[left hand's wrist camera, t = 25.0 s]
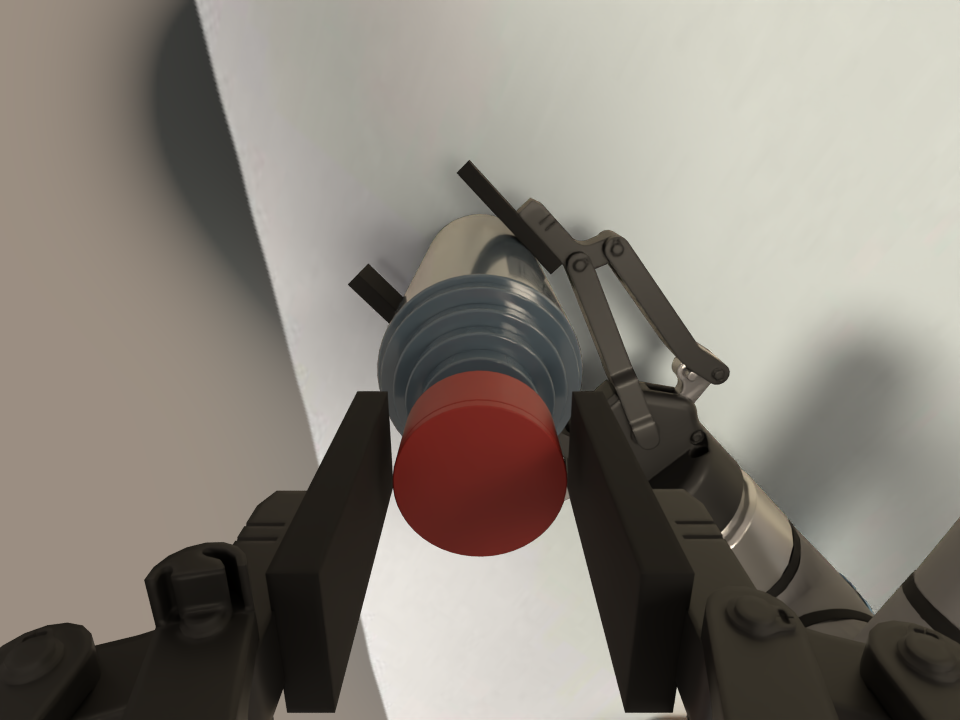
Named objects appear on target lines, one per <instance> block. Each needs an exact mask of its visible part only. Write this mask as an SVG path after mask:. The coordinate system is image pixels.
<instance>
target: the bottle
mask: <svg viewBox="0 0 960 720" xmlns="http://www.w3.org/2000/svg"><path fill="white" fill-rule="evenodd" d="M468 371H491V372H498V373H501V374H505V375H508V376H511V377H513V378H515V379H518V380H519V381H521V382H523V383H524V384H526V385H527V386H529V387H530V388H531V389H533V390H534V391H535V392H536V393H537V394H538V395H539V396H540V397H541V399H542V400H543V401H544V403H545V404H546V406H547V407H548V409H549V411H550V413H551V416H552V418H553V421H554V424H555V428H556V432H557V436H558V435H559V434H560V433H561V431H562V430H563V429H564V427H565V426H566V424H567V422H568V421H569V419H570V417H571V404H572V391H580V389H581V383H582V375H583V368H582V356H581V350H580V346H579V343H578V340H577V337H576V335H575V332H574V330H573V328H572V326H571V324H570V322H569V320H568V318H567V316H566V314H565V312H564V311H563V309H562V307H561V305H560V303H559V301H558V299H557V297H556V295H555V293H554V291H553V289H552V287H551V285H550V283H549V282H548V280H547V278H546V276H545V274H544V272H543V270H542V268H541V266H540V264H539V262H538V260H537V259H536V258H535V257H534V256H533V255H532V254H531V252H530V251H529V250H528V249H527V248H526V247H525V246H524V245H523V244H522V243H521V242H520V241H519V240H518V238H517V237H516V236H515V235H514V234H513V233H512V232H511V231H510V230H509V229H508V228H507V227H506V226H505V224H504V223H503V222H502V221H501V220H500V219H499V218H498V217H496V216H492V215H487V214H474V215H468V216H464V217H461V218H458V219H456V220H454V221H453V222H451V223H449V224H448V225H447V226H445V227H444V228H443V229H442V230H441V231H440V232H439V233H438V234H437V236H436V237H435V238H434V240H433V241H432V243H431V245H430V247H429V249H428V251H427V253H426V255H425V257H424V258H423V260H422V262H421V264H420V266H419V268H418V270H417V272H416V274H415V276H414V278H413V280H412V282H411V283H410V285H409V287H408V289H407V291H406V293H405V295H404V297H403V299H402V301H401V303H400V305H399V307H398V309H397V310H396V312H395V314H394V316H393V318H392V320H391V322H390V324H389V326H388V328H387V330H386V332H385V335H384V337H383V339H382V343H381V346H380V350H379V356H378V363H377V372H378V383H379V389H380V391H388V404H389V417H390V419H391V421H392V422H393V424H394V426H395V427H396V429H397V430H398V432H399V433H400V434H401V435H402V436H403V432H404V428H405V425H406V421H407V418H408V415H409V413H410V411H411V409H412V407H413V406H414V404H415V403H416V401H417V400H418V399H419V397H420V396H421V395H422V394H423V393H424V392H425V391H426V390H427V389H429V388H430V387H431V386H433V385H434V384H436V383H437V382H439V381H441V380H443V379H445V378H447V377H449V376H452V375H455V374H458V373H463V372H468Z"/></svg>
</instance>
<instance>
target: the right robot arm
mask: <svg viewBox="0 0 960 720" xmlns="http://www.w3.org/2000/svg"><path fill="white" fill-rule="evenodd" d="M457 174H458V175H459V176H460V177H461V178H462V179H463V180H464V181H465V182H466V184H467V185H468V186H469V187H470V188H471V189H472V190H473V191H474V192H475V193H476V194H477V195H478V196H479V198H480V199H481V200H482V201H483V202H484V203H485V204H486V205H487V206H488V207H489V208H490V209H491V210H492V212H493V213H494V214H495V215H496V216H497V217H498V218H499V219H500V220H501V221H502V222H503V223H504V224H505V226H506V227H507V228H508V229H509V230H510V231H511V232H512V233H513V234H514V235H515V236H516V237H517V238H518V240H519V241H520V242H521V243H522V244H523V245H524V246H525V247H526V248H527V249H528V250H529V251H530V252H531V254H532V255H533V256H534V257H535V258H536V259H537V260H538V261H539V262H540V263H541V264H542V265H543V266H544V268H545V269H546V270H547V271H548V272H549V273H550V274H552V273H553V272H554V271H555V270H556V269H557V268H558V267H559V266H561V265H562V264H563V266H564V268H565V271H566V273H567V276H568V278H569V281H570V283H571V286H572V288H573V291H574V293H575V296H576V298H577V301H578V303H579V306H580V308H581V311H582V313H583V316H584V319H585V321H586V324H587V326H588V329H589V331H590V334H591V336H592V339H593V341H594V344H595V346H596V349H597V351H598V354H599V356H600V359H601V361H602V365H603V367H604V370H605V373H606V375H607V378H608V380H609V381H608V380H606V381H605V382H603V383H602V384H601V385H600V386H599V387H597V388H596V390H595V391H603V393H604V395H605V397H606V399H607V401H608V403H609V405H610V407H611V409H612V411H613V413H614V415H615V417H616V419H617V421H618V423H619V425H620V427H621V429H622V431H623V433H624V435H625V437H626V439H627V441H628V443H629V445H630V446H631V448H632V450H633V452H634V454H635V456H636V458H637V460H638V462H639V464H640V466H641V468H642V470H643V472H644V474H645V476H646V478H647V480H648V482H649V484H650V486H651V488H652V489H684V490H685V491H687V492H688V493H689V494H691V495H692V496H693V497H695V498H696V499H697V500H699V501H700V502H701V503H703V505H704V506H705V508H706V509H707V511H708V513H709V514H710V516H711V517H712V519H713V520H714V524H716V525H717V527H718V528H719V530H720V532H721V533H722V535H723V539H725V540H726V541H727V543H728V544H729V546H730V547H731V549H732V551H733V552H734V554H735V555H736V557H737V559H738V560H739V562H740V563H741V565H742V567H743V568H744V570H745V571H746V573H747V574H748V576H749V578H750V579H751V581H752V582H753V584H754V586H755V587H756V589H757V590H761V591H764V592H766V593H768V594H770V595H772V596H774V597H776V598H777V599H779V600H781V601H782V602H784V603H785V604H786V605H787V606H788V607H789V608H791V609H792V610H793V611H794V612H795V613H796V614H797V616H798V617H799V619H800V621H801V622H802V624H803V625H804V627H805V628H808V629H811V630H814V631H818V632H821V633H824V634H829V635H833V636H837V637H841V638H845V639H850V640H854V641H858V642H862V643H866V641H867V638H868V634H869V631H870V630H871V629H872V628H873V627H874V626H875V625H877V624H878V623H881V622H887V621H892V620H895V621H903V622H910V623H915V624H918V625H921V626H924V627H927V628H929V629H932V630H935V631H937V632H939V633H941V634H943V635H945V636H946V637H948V638H950V639H952V640H954V641H955V642H957V643H959V644H960V518H959V519H958V520H957V521H956V523H955V524H954V525H953V526H952V527H951V529H950V530H949V531H948V532H947V533H946V535H945V536H944V537H943V538H942V540H941V541H940V542H939V543H938V544H937V546H936V547H935V548H934V549H933V550H932V552H931V553H930V554H929V555H928V556H927V558H926V559H925V560H924V561H923V562H922V564H921V565H920V566H919V567H918V569H917V570H915V571H914V572H913V573H912V574H911V575H910V576H909V577H908V578H907V579H906V581H905V582H904V583H903V584H902V585H901V586H900V587H899V588H898V589H897V590H896V592H895V593H894V594H893V595H892V596H891V597H890V598H889V599H888V601H887V602H886V603H885V604H884V605H883V606H882V607H881V609H880V610H879V611H878V612H877V613H876V614H874V613H873V612H872V609H871V607H870V606H869V604H868V603H867V601H866V600H865V599H864V598H863V597H862V596H861V595H860V594H859V593H858V592H857V590H856V588H855V587H854V586H853V585H852V583H850V582H849V581H848V580H847V579H846V578H845V577H844V576H843V575H842V574H841V573H838V572H837V571H836V570H835V568H834V567H833V566H832V565H831V564H830V563H829V562H828V561H827V560H826V559H825V558H824V557H823V556H822V555H821V554H820V553H819V552H818V551H817V550H816V549H815V548H814V546H813V545H812V544H811V543H810V542H809V541H808V540H807V539H806V538H805V537H804V536H803V535H802V534H801V533H800V532H799V531H798V530H797V529H796V528H795V527H794V526H793V524H792V523H791V522H790V521H789V519H788V518H787V516H786V515H785V514H784V513H783V512H782V511H781V510H780V509H779V508H778V507H777V506H776V504H775V503H774V502H773V501H772V500H771V499H770V498H769V497H768V496H767V495H766V494H765V492H764V491H763V490H762V489H761V488H760V487H759V486H758V485H757V484H756V483H755V482H754V480H753V479H752V478H751V477H750V476H749V475H748V474H747V473H745V472H744V471H743V470H742V469H740V466H739V465H738V463H737V462H736V461H735V460H734V459H733V458H732V457H731V456H730V455H729V453H728V452H727V451H726V450H725V449H724V448H723V447H722V446H721V445H720V444H719V443H718V441H717V440H716V439H715V438H714V437H713V436H712V435H711V434H710V433H709V432H708V431H707V430H706V428H705V427H704V426H703V425H702V424H701V423H700V422H699V420H698V416H697V409H696V406H695V404H694V403H695V401H696V400H697V399H698V398H699V397H700V395H701V394H702V393H703V392H704V391H705V389H706V388H707V387H708V386H709V385H710V383H712V384H714V385H718V384H722V383H724V382H725V381H726V380H727V379H728V377H729V373H730V371H729V368H728V367H727V366H726V365H725V364H724V363H723V362H722V361H721V360H719V359H718V358H717V357H716V356H715V355H714V354H713V353H711V352H710V351H709V350H708V349H706V348H705V347H703V346H702V345H700V344H699V343H697V342H696V341H695V340H694V338H693V337H692V335H691V334H690V332H689V331H688V329H687V328H686V326H685V325H684V324H683V322H682V321H681V319H680V318H679V316H678V315H677V313H676V312H675V310H674V309H673V307H672V306H671V304H670V303H669V301H668V300H667V299H666V297H665V296H664V294H663V293H662V291H661V290H660V288H659V287H658V285H657V284H656V282H655V281H654V279H653V278H652V276H651V275H650V274H649V272H648V271H647V269H646V268H645V266H644V265H643V263H642V262H641V260H640V259H639V257H638V256H637V254H636V253H635V252H634V250H633V249H632V247H631V246H630V244H629V243H628V241H627V240H626V239H625V238H623V237H621V236H620V235H618V234H617V233H615V232H613V231H610V230H604V231H602V232H600V233H599V234H598V236H595V237H593V238H591V239H588V240H585V241H577V240H575V239H573V238H572V237H571V236H570V235H569V234H568V232H567V231H566V230H565V229H564V228H563V227H562V226H561V225H560V223H559V222H558V221H557V220H556V219H555V218H554V217H553V216H552V215H551V213H550V212H549V211H548V210H547V209H546V208H545V207H544V206H543V205H542V204H541V203H540V202H538V201H536V200H534V199H532V198H529V199H528V200H527V201H526V202H525V203H524V204H523V205H522V206H521V207H520V208H519V209H518V210H517V211H516V210H515V209H514V208H513V207H512V206H511V205H510V204H509V203H508V202H507V200H506V199H505V198H504V197H503V196H502V195H501V194H500V193H499V192H498V191H497V189H496V188H495V187H494V186H493V185H492V184H491V183H490V182H489V181H488V180H487V179H486V177H485V176H484V175H483V174H482V173H481V172H480V171H479V170H478V169H477V168H476V167H475V165H474V164H473V163H472V162H471V161H470V160H469V161H468V162H467V163H466V164H465V165H464V166H463V167H462V168H461V169H460V170H459V171H458V172H457ZM606 264H608V265H609V266H610V268H611V269H612V271H613V272H614V274H615V275H616V276H617V278H618V279H619V281H620V282H621V283H622V285H623V286H624V288H625V289H626V291H627V292H628V293H629V295H630V296H631V298H632V299H633V301H634V302H635V303H636V305H637V306H638V308H639V309H640V311H641V312H642V313H643V315H644V316H645V318H646V319H647V321H648V322H649V323H650V325H651V326H652V328H653V329H654V331H655V332H656V333H657V335H658V336H659V338H660V339H661V340H662V342H663V343H664V344H665V345H666V347H667V348H668V349H669V350H670V351H671V352H672V353H673V354H674V355H675V356H676V357H675V358H674V360H673V363H672V370H673V372H674V373H675V374H676V375H677V378H678V383H677V385H676V387H670V386H664V385H658V384H652V383H646V382H640V381H638V379H637V376H636V374H635V372H634V370H633V368H632V366H631V363H630V360H629V358H628V355H627V352H626V350H625V347H624V344H623V342H622V339H621V337H620V334H619V331H618V329H617V326H616V323H615V321H614V318H613V316H612V313H611V310H610V308H609V305H608V302H607V300H606V297H605V295H604V292H603V289H602V287H601V284H600V281H599V279H598V276H597V274H596V271H595V269H596V268H599V267H601V266H603V265H606ZM348 285H349V286H350V287H351V288H352V289H353V290H354V291H355V292H356V293H357V294H358V295H359V296H361V297H362V298H363V299H364V300H365V301H366V302H367V303H368V304H369V305H370V306H371V307H372V308H373V309H374V310H375V311H376V312H377V313H379V314H380V315H381V316H382V317H383V318H384V319H385V320H386V321H387V322H388V323H389V324H390V322H391V320H392V318H393V316H394V314H395V312H396V310H397V309H398V307H399V305H400V303H401V301H402V299H403V297H402V296H401V295H400V294H399V293H398V292H397V291H396V290H395V289H394V288H393V287H392V286H391V285H390V284H389V283H388V282H387V281H386V280H385V279H384V278H383V277H382V276H381V275H380V274H379V273H377V272H376V271H375V270H374V269H373V268H372V267H371V266H370V265H369V264H367V266H366V267H365V268H364V269H363V270H362V271H361V272H360V273H359V274H358V275H357V276H356V277H355V278H354V279H353V280H352V281H351V282H350V283H349V284H348ZM570 421H571V417H570V419H569V421H568V422H567V424H566V426H565V427H564V429H563V430H562V431H561V433H560V434H559V435H558V439H559V443H560V447H561V450H562V454H563V457H564V461H565V466H566V471H568V454H569V437H570ZM569 498H570V497H569V493H568V489H567V490H566V495H565V499H564V501H565V500H567V499H569Z"/></svg>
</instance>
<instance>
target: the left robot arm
mask: <svg viewBox="0 0 960 720" xmlns="http://www.w3.org/2000/svg"><path fill="white" fill-rule="evenodd" d="M392 489H393V471H392V454H391V437H390V421H389V404H388V391H357V393H356V395H355V397H354V399H353V401H352V403H351V405H350V407H349V409H348V411H347V413H346V415H345V417H344V419H343V421H342V423H341V425H340V427H339V429H338V431H337V433H336V435H335V437H334V439H333V441H332V443H331V445H330V446H329V448H328V450H327V452H326V454H325V456H324V458H323V460H322V462H321V464H320V466H319V468H318V470H317V472H316V474H315V476H314V478H313V480H312V482H311V484H310V486H309V488H308V490H307V491H276V492H275V493H273V494H272V495H271V496H269V497H268V498H267V499H265V500H264V501H263V502H261V503H260V504H259V505H258V506H257V507H256V508H255V510H254V512H253V513H252V515H251V516H250V518H249V520H248V521H247V523H246V526H244V528H243V529H242V531H241V532H240V534H239V536H238V539H237V541H235V542H234V544H233V545H231V544H228V543H224V542H213V543H203V544H199V545H194V546H190V547H187V548H184V549H182V550H180V551H178V552H176V553H174V554H172V555H169V556H168V557H166V558H165V559H164V560H163V561H161V562H160V563H158V564H157V565H156V566H155V567H153V569H152V570H151V571H150V573H149V574H148V576H147V577H146V578H145V580H144V581H145V585H146V589H147V593H148V597H149V601H150V605H151V609H152V613H153V617H154V621H155V625H156V628H155V630H153V631H150V632H147V633H144V634H141V635H137V636H133V637H129V638H125V639H121V640H117V641H112V642H108V643H104V644H100V645H96V646H95V645H94V641H93V638H92V634H91V633H90V632H89V631H88V630H87V629H86V628H85V627H84V626H83V625H77V624H72V623H62V624H54V625H47V626H44V627H41V628H38V629H35V630H33V631H30V632H27V633H24V634H23V635H21V636H19V637H17V638H15V639H14V640H12V641H10V642H8V643H6V644H5V645H3V646H2V647H0V720H274V718H273V715H274V712H275V710H276V707H277V704H278V701H279V699H280V696H281V693H282V690H283V689H284V695H285V702H286V708H287V713H335V710H336V706H337V703H338V699H339V695H340V691H341V687H342V683H343V679H344V675H345V672H346V668H347V664H348V660H349V656H350V652H351V648H352V644H353V640H354V637H355V633H356V629H357V625H358V621H359V617H360V613H361V609H362V606H363V602H364V598H365V594H366V590H367V586H368V582H369V578H370V574H371V571H372V567H373V563H374V559H375V555H376V551H377V547H378V543H379V540H380V536H381V532H382V528H383V524H384V520H385V516H386V512H387V509H388V505H389V501H390V497H391V493H392ZM567 489H568V493H569V497H570V501H571V505H572V509H573V512H574V516H575V520H576V524H577V528H578V532H579V536H580V540H581V543H582V547H583V551H584V555H585V559H586V563H587V567H588V571H589V575H590V578H591V582H592V586H593V590H594V594H595V598H596V602H597V606H598V609H599V613H600V617H601V621H602V625H603V629H604V633H605V637H606V641H607V644H608V648H609V652H610V656H611V660H612V664H613V668H614V672H615V675H616V679H617V683H618V687H619V691H620V695H621V699H622V703H623V707H624V710H625V713H673V708H674V702H675V695H676V689H677V688H678V690H679V693H680V696H681V699H682V701H683V704H684V707H685V710H686V712H687V718H686V720H960V644H959V643H957V642H955V641H954V640H952V639H950V638H948V637H946V636H945V635H943V634H941V633H939V632H937V631H935V630H932V629H929V628H927V627H924V626H921V625H918V624H915V623H910V622H903V621H895V620H892V621H887V622H881V623H878V624H877V625H875V626H874V627H873V628H872V629H871V630H870V631H869V634H868V638H867V641H866V643H862V642H858V641H854V640H850V639H845V638H841V637H837V636H833V635H829V634H824V633H821V632H818V631H814V630H811V629H808V628H805V627H804V625H803V624H802V622H801V621H800V619H799V617H798V616H797V614H796V613H795V612H794V611H793V610H792V609H791V608H789V607H788V606H787V605H786V604H785V603H784V602H782V601H781V600H779V599H777V598H776V597H774V596H772V595H770V594H768V593H766V592H764V591H761V590H757V589H756V587H755V586H754V584H753V582H752V581H751V579H750V578H749V576H748V574H747V573H746V571H745V570H744V568H743V567H742V565H741V563H740V562H739V560H738V559H737V557H736V555H735V554H734V552H733V551H732V549H731V547H730V546H729V544H728V543H727V541H726V540H725V539H723V535H722V533H721V532H720V530H719V528H718V527H717V525H716V524H714V520H713V519H712V517H711V516H710V514H709V513H708V511H707V509H706V508H705V506H704V505H703V503H701V502H700V501H699V500H697V499H696V498H695V497H693V496H692V495H691V494H689V493H688V492H687V491H685V490H684V489H652V488H651V486H650V484H649V482H648V480H647V478H646V476H645V474H644V472H643V470H642V468H641V466H640V464H639V462H638V460H637V458H636V456H635V454H634V452H633V450H632V448H631V446H630V445H629V443H628V441H627V439H626V437H625V435H624V433H623V431H622V429H621V427H620V425H619V423H618V421H617V419H616V417H615V415H614V413H613V411H612V409H611V407H610V405H609V403H608V401H607V399H606V397H605V395H604V393H603V391H572V404H571V421H570V437H569V454H568V471H567Z"/></svg>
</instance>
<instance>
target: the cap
mask: <svg viewBox="0 0 960 720" xmlns="http://www.w3.org/2000/svg"><path fill="white" fill-rule="evenodd" d="M393 490H394V496H395V499H396V502H397V506H398V508H399V510H400V512H401V514H402V516H403V517H404V519H405V520H406V521H407V523H408V524H409V525H410V526H411V528H412V529H413V530H414V531H415V532H416V533H417V534H419V535H420V536H421V537H422V538H424V539H425V540H427V541H428V542H430V543H431V544H433V545H435V546H437V547H439V548H441V549H444V550H446V551H449V552H452V553H456V554H460V555H466V556H482V557H483V556H494V555H499V554H504V553H508V552H511V551H514V550H516V549H519V548H521V547H523V546H525V545H527V544H529V543H530V542H532V541H534V540H535V539H536V538H538V537H539V536H540V535H541V534H543V533H544V532H545V531H546V530H547V529H548V528H549V526H550V525H551V524H552V523H553V521H554V520H555V519H556V517H557V515H558V513H559V512H560V510H561V507H562V505H563V503H564V499H565V495H566V490H567V471H566V466H565V461H564V458H563V454H562V450H561V447H560V443H559V439H558V436H557V432H556V428H555V424H554V421H553V418H552V416H551V413H550V411H549V409H548V407H547V406H546V404H545V403H544V401H543V400H542V399H541V397H540V396H539V395H538V394H537V393H536V392H535V391H534V390H533V389H531V388H530V387H529V386H527V385H526V384H524V383H523V382H521V381H519V380H518V379H515V378H513V377H511V376H508V375H505V374H501V373H498V372H491V371H468V372H463V373H458V374H455V375H452V376H449V377H447V378H445V379H443V380H441V381H439V382H437V383H436V384H434V385H433V386H431V387H430V388H429V389H427V390H426V391H425V392H424V393H423V394H422V395H421V396H420V397H419V399H418V400H417V401H416V403H415V404H414V406H413V407H412V409H411V411H410V413H409V415H408V418H407V421H406V425H405V428H404V432H403V436H402V439H401V443H400V447H399V450H398V454H397V458H396V461H395V465H394V471H393Z"/></svg>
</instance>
